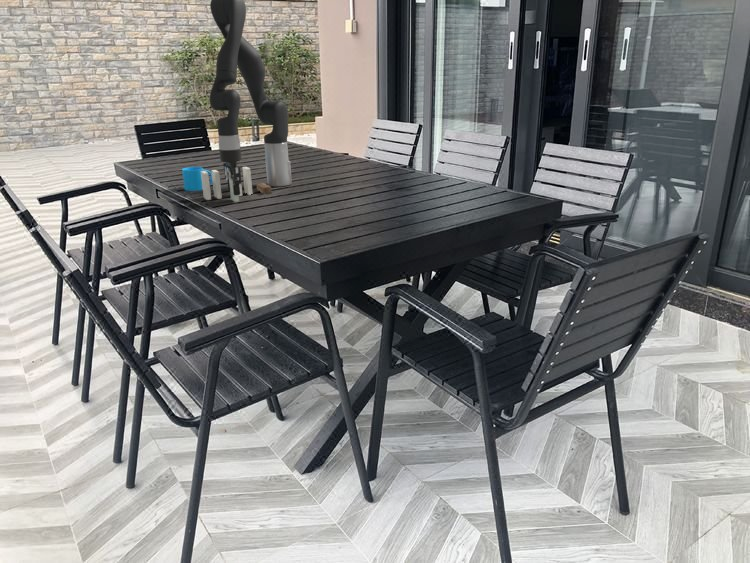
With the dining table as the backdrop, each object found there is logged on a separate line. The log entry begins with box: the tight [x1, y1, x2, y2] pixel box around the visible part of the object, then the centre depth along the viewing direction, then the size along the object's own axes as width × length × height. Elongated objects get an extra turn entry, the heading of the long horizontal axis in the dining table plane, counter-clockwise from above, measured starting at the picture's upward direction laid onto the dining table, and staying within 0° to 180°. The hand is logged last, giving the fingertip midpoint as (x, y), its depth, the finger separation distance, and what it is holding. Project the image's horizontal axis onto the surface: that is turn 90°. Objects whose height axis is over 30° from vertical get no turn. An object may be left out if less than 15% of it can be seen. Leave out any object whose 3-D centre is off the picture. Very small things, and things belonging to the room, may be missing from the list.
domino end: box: [242, 166, 254, 196], centre depth 237 cm, size 2×5×10 cm, turn 28°
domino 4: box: [239, 183, 243, 197], centre depth 235 cm, size 2×5×10 cm, turn 28°
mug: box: [181, 166, 213, 192], centre depth 248 cm, size 12×8×8 cm
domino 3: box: [229, 175, 240, 203], centre depth 226 cm, size 2×5×10 cm, turn 28°
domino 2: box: [210, 169, 223, 199], centre depth 231 cm, size 2×5×10 cm, turn 28°
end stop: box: [255, 182, 272, 195], centre depth 241 cm, size 3×9×2 cm, turn 28°
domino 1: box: [201, 171, 212, 201], centre depth 230 cm, size 2×5×10 cm, turn 28°
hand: (234, 193), depth 227 cm, fingers open, 6 cm apart
